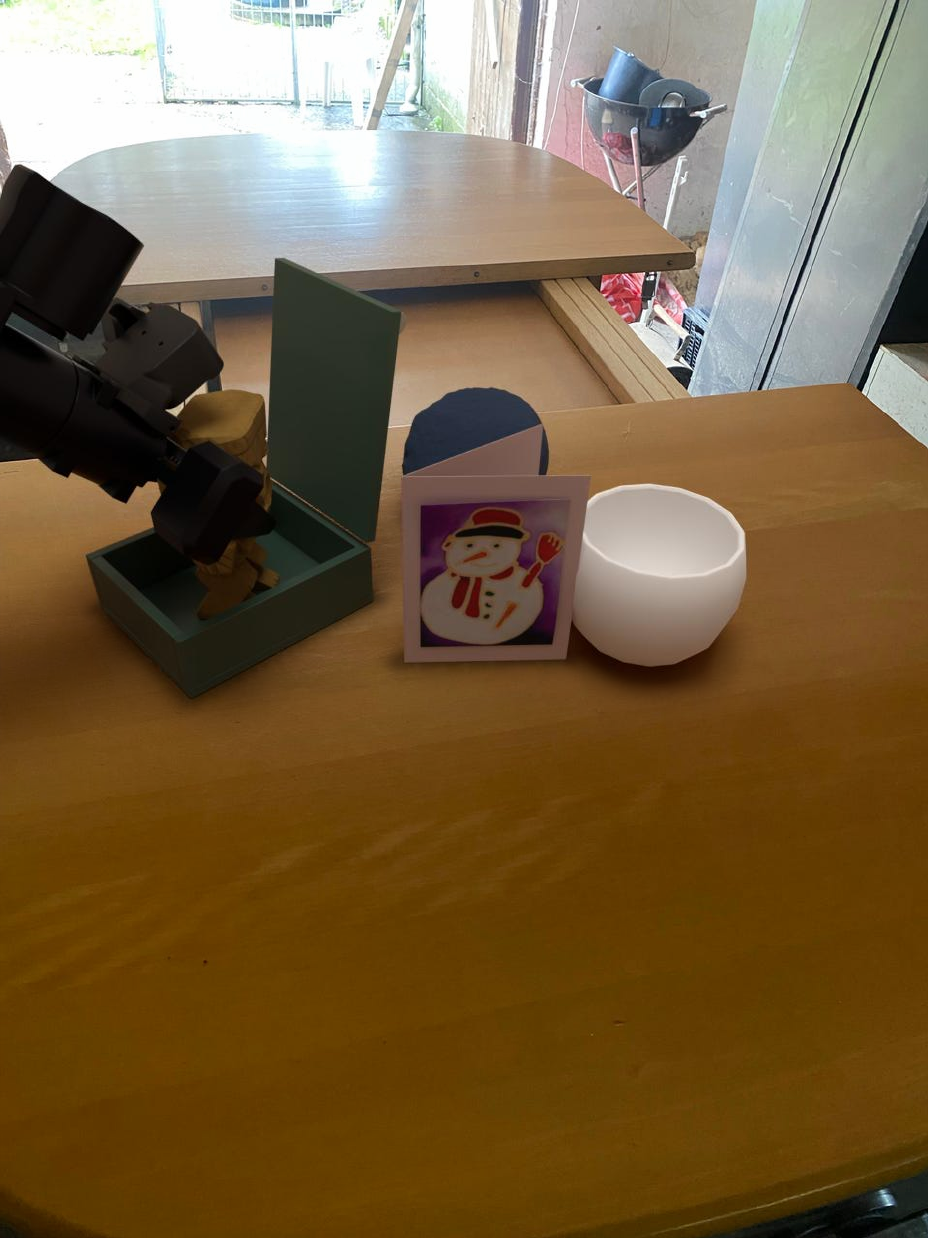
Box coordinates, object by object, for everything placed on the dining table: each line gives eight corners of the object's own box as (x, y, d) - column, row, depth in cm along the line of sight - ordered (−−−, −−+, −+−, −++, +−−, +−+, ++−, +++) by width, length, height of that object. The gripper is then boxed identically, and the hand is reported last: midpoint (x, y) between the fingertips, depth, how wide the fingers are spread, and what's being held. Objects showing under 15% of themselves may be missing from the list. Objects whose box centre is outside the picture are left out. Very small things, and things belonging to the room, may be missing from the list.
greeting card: (404, 671, 64) (401, 484, 54) (403, 603, 69) (400, 423, 60) (567, 667, 64) (593, 483, 55) (553, 601, 70) (574, 423, 60)
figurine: (266, 630, 65) (242, 440, 56) (175, 623, 65) (135, 432, 56) (288, 572, 71) (269, 390, 61) (203, 566, 71) (172, 383, 61)
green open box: (191, 699, 61) (178, 642, 58) (100, 609, 68) (84, 554, 65) (373, 601, 69) (371, 547, 66) (276, 530, 76) (270, 478, 73)
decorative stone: (435, 468, 85) (436, 366, 78) (559, 496, 81) (571, 392, 75) (381, 534, 76) (377, 426, 70) (517, 569, 73) (526, 458, 67)
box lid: (392, 311, 57) (443, 307, 60) (274, 257, 64) (325, 255, 67) (366, 543, 66) (412, 529, 68) (265, 474, 72) (311, 464, 75)
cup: (550, 582, 72) (562, 475, 66) (708, 589, 72) (735, 482, 66) (558, 693, 62) (572, 580, 56) (739, 701, 62) (774, 588, 56)
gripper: (209, 329, 45) (387, 454, 58) (42, 234, 55) (225, 359, 68) (94, 522, 46) (295, 603, 59) (-50, 393, 56) (148, 486, 69)
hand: (239, 502), depth 64 cm, fingers closed on figurine, 8 cm apart
